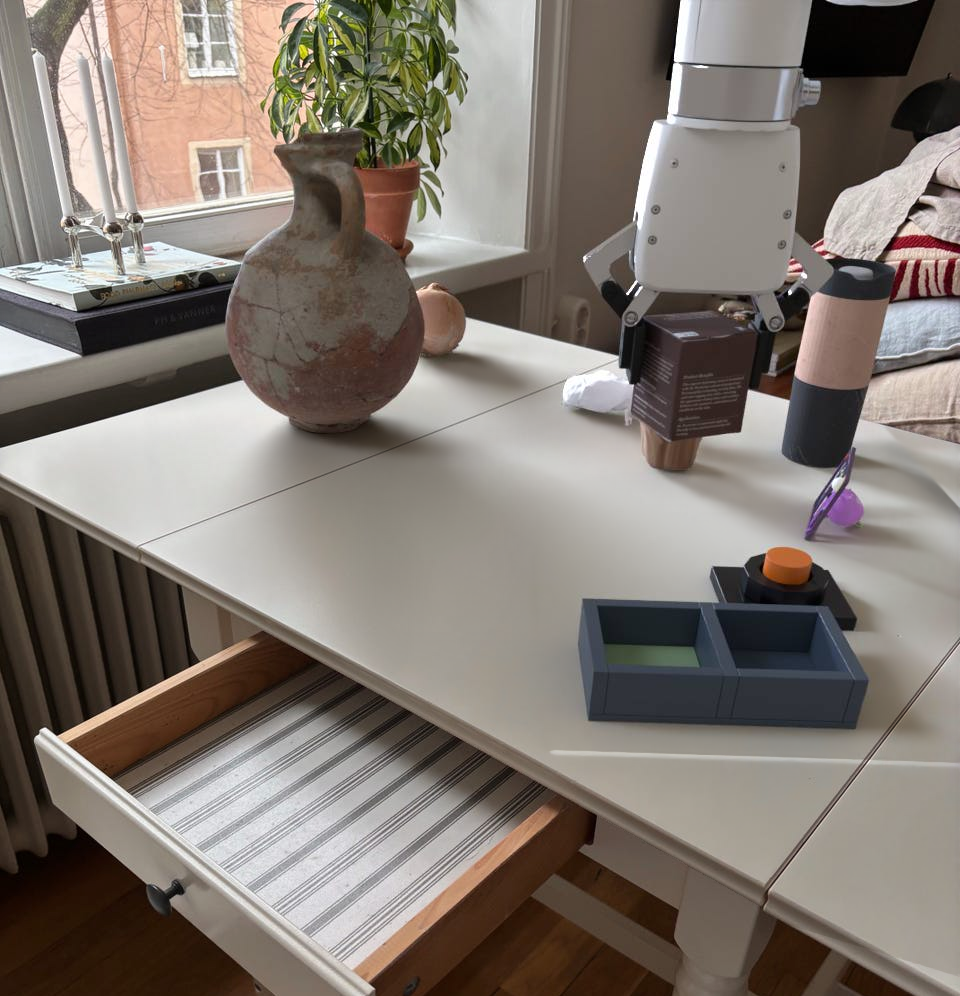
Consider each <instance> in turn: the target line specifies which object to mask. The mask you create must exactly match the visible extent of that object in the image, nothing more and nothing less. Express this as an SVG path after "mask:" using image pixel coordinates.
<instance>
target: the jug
mask: <svg viewBox="0 0 960 996" xmlns="http://www.w3.org/2000/svg"><path fill="white" fill-rule="evenodd" d="M363 136H364V131H363V130H362V129H360V128H358V127H340V128H339V130H338V131H325V132H322V131H321V132H318V131H317V132H307V133H305V132H303V133H302V134H300V135H299V136H298V137H297V138H295V139H294V141H293V142H291V143H283V144H282V143H281V144H276V145H275V146H274V148H273V153H274V155H275V156H276V157H277V159H278V160H279V162H280V163H279V164H280V166H281V167H282V168H283V169H284V170H285V171H286V173H287V175H288V176H289V178H290V180H291V184H292V189H293V203H292V208H291V212H290V216H289V218H288V219H287V220H286V221H285V222H284V223H283V224H282V225H281V226H279V227H277V228H275V229H273V230H272V231H270V232H269V233H268V234H267V235H266V236H264V237H263V238H262V239H261V240H259V241H258V242H257V243H255V244H254V245H253V246H252V247H250V248H249V249H248V250H247V251H246V252H245V254H244V257H243V259H242V263H241V266H240V268H239V271H238V274H237V276H236V278H235V280H234V282H233V285H232V288H231V291H230V294H228V296H229V297H228V300H227V301H228V302H227V307H226V313H225V322H224V324H225V337H226V342H227V348H228V353H229V356H230V358H231V361H232V364H233V366H234V368H235V370H236V372H237V373H238V375H239V376H240V378H241V380H242V382H244V384H245V385H246V386H247V388H248V389H249V390H250V392H251V393H252V395H254V396H255V397H256V398H258V399H259V400H260V401H261V402H262V403H263V404H265V405H266V406H268V407H269V408H270V409H273V410H274V411H276V412H277V413H279V414H281V415H283V416H285V417H287V418H288V421H289V423H290V424H292V425H293V426H295V427H297V428H299V429H302V430H303V431H306V432H310V433H324V434H330V433H331V434H339V433H343V432H347V431H351V430H354V429H357V428H358V427H360V425H361V424H364V423H366V421H367V420H368V419H370V418H371V417H372V414H374V413H376V412H378V411H380V410H381V409H382V408H384V407H386V406H387V405H388V404H389V403H391V402H392V401H393V400H394V399H396V397H398V395H400V393H401V392H402V391H403V390H404V389H405V387H406V386H407V385H408V384H409V382H410V380H411V378H412V377H413V375H414V373H415V371H416V369H417V366H418V364H419V362H420V358H421V355H420V354H421V351H422V346H423V342H424V334H425V324H424V317H423V312H422V308H421V305H420V302H419V299H418V296H417V293H416V288H415V286H414V283H413V281H412V279H411V277H410V274H409V272H408V270H407V269H406V267H405V265H404V263H403V260H402V259H401V257H400V254H399V252H398V250H396V249H395V248H394V247H393V246H392V245H390V244H389V243H388V242H386V241H384V240H383V239H381V238H380V237H378V236H377V235H376V234H374V233H373V232H372V231H370V230H369V229H367V228H366V223H367V213H366V211H367V210H366V199H365V194H364V188H363V185H362V181H361V180H360V178H359V175H358V174H357V172H356V170H355V169H354V164H355V159H356V157H357V155H358V154H359V153H361V152H362V151H363V149H364V143H363V142H364V141H363V138H364V137H363Z"/></svg>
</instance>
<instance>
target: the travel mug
mask: <svg viewBox="0 0 960 996" xmlns="http://www.w3.org/2000/svg"><path fill="white" fill-rule="evenodd" d="M824 259H825V260H826V261H827V262H828V263H829V264H830V265H831V266H832V267H833V270H834V272H833V275H832V276H831V277H830V279H829V280H828V281H827V282H826V283H825V284H824V285H823V286H822V287H821V288H820V289H819V290H818V291H817V292H816V293H815V295H814V294H813V296H812V297H811V298H810V299H809V303H808V309H807V313H806V319H805V322H804V323H805V324H804V327H803V332H802V336H801V343H800V346H799V351H798V355H797V360H796V364H795V370H794V375H793V379H792V386H791V391H790V397H789V402H788V409H787V414H786V420H785V426H784V431H783V437H782V443H781V454H782V455H783V456H784V457H785V458H787V459H788V460H789V461H791V462H795V463H797V464H800V465H804V466H809V467H815V468H835V467H839V465H840V464H841V463H842V461H843V460H844V458H845V457H846V455H847V454H848V452H849V451H850V449H851V448H852V447H853V442H854V439H855V436H856V432H857V428H858V425H859V421H860V418H861V415H862V411H863V408H864V404H865V400H866V397H867V394H868V390H869V386H870V383H871V378H872V374H873V370H874V365H875V361H876V358H877V353H878V349H879V345H880V341H881V336H882V332H883V328H884V324H885V320H886V316H887V313H888V312H887V311H888V307H889V304H890V299H891V294H892V290H893V286H894V282H895V278H896V274H897V270H896V267H894V266H892V265H890V264H887V263H884V262H880V261H877V260H876V261H875V260H870V259H863V258H854V257H853V258H851V257H829V258H824Z"/></svg>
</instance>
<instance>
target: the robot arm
mask: <svg viewBox="0 0 960 996" xmlns="http://www.w3.org/2000/svg"><path fill="white" fill-rule="evenodd" d="M826 1H827V2H829V3H832V4H835V5H840V6H842V5H843V6H867V7H868V6H869V7H891V6H892V7H893V6H902V5H906V4H910V3H913V2H917V1H918V0H826ZM812 2H813V0H680V4H679V12H678V23H677V32H676V39H675V49H674V57H673V58H674V59H673V61H674V62H673V66H672V73H671V81H670V82H671V83H670V90H669V91H670V92H669V101H668V109H667V118H666V119H656V120H654V121H653V125H652V128H651V130H650V133H649V137H648V141H647V145H646V149H645V154H644V157H643V162H642V168H641V172H640V178H639V183H638V189H637V195H636V199H635V208H634V214H633V220H632V222H631V223H629V224H627V225H626V226H624V227H623V228H621V230H619V231H616V233H614V234H612V235H611V236H610V237H609V238H607V239H606V240H605V241H603V242H602V243H600V244H598V245H597V246H595V247H594V248H593V249H591V250H590V251H588V252H587V253H586V254H584V256H583V259H582V260H583V266H584V268H585V271H586V272H587V274H588V275H589V277H590V278H591V280H592V282H593V284H594V286H595V287H596V288H597V290H598V292H599V293H600V294H601V297H602V299H603V300H604V301H605V302H606V303H607V305H609V307H610V308H611V309H612V311H613V312H614V313H615V314H616V315H617V316H618V318H620V320H621V331H620V342H619V350H618V369H621V370H625V374H626V378H627V380H628V381H629V385H637V383H640V380H641V371H642V362H643V354H644V345H645V337H646V328H645V325H644V323H643V316H645V314H646V313H647V312H648V310H649V309H650V307H652V304H654V302H655V300H656V299H657V298H658V297H659V295H660V294H661V292H663V293H679V294H680V293H682V294H703V295H704V294H707V295H708V294H709V295H735V296H736V295H739V296H749V297H750V299H751V301H752V304H753V307H754V309H755V312H756V314H755V316H754V319H751V322H749V323H748V326H747V327H749V328H751V329H753V330H755V331H757V332H758V336H757V340H756V348H755V354H754V359H753V365H752V370H751V376H750V382H749V388H748V389H750V390H759V388H760V385H761V383H760V382H761V378H762V375H767V374H769V371H770V369H771V368H770V367H771V362H772V358H773V352H774V346H775V341H776V336H777V332H779V331H781V330H782V329H783V328H784V326H785V323H786V322H787V321H789V320H790V319H791V318H792V317H794V316H795V315H796V314H798V313H799V311H801V310H802V309H803V308H805V307H806V306H807V305H808V304H809V303H810V300H811V297H812V296H813V294H814V295H815V293H816V292H817V291H818V290H819V289H820V288H821V287H822V286H823V285H824V284H825V283H826V282H827V281H828V280H829V279H830V277H831V276H832V275H833V272H834V270H833V267H832V266H831V265H830V264H829V263H828V262H827V261H826V260H825V259H826V258H824V257H823V256H822V255H821V254H820V253H819V252H818V251H817V250H816V249H815V248H813V246H812V245H810V243H808V242H807V241H806V240H805V239H804V238H803V237H802V236H801V235H800V234H799V233H798V232H797V231H796V230H795V229H796V220H797V219H796V218H797V211H798V210H797V209H798V201H799V199H798V198H799V187H800V185H799V184H800V170H801V166H800V165H801V130H800V129H801V128H800V127H798V126H797V125H794V124H792V123H791V122H792V119H794V118H795V117H796V113H797V111H799V108H804V107H805V106H807V105H808V106H816V105H817V104H818V103H819V100H820V97H821V90H822V85H821V83H822V82H821V80H811V79H810V78H809V77H805V75H804V74H803V72H804V68H800V67H801V65H802V60H803V59H802V58H803V54H804V48H805V44H806V43H805V42H806V37H807V32H808V26H809V20H810V15H811V8H812ZM628 253H629V255H628V261H629V262H628V263H629V269H630V270H631V271H632V272H633V273H634V277H635V281H634V283H633V284H632V286H631V287H630V289H628V291H627V292H626V291H625V290H624V289H623V287H622V286H620V284H619V283H618V281H617V280H616V279H615V277H614V276H613V274H612V272H611V271H610V267H611V265H612V264H613V263H614V262H616V261H617V260H619V259H620V258H621V257H623V256H625V255H626V254H628ZM791 257H792V259H793V260H795V262H797V263H798V264H799V265H800V266H801V268H802V273H801V274H800V276H799V277H798V278H797V280H796V281H795V282H794V284H791V285H789V286H788V287H787V288H785V290H784V291H782V292H781V293H780V294H779V295H778V296H776V295H775V291H777V290H779V289H780V288H781V287H783V285H784V284H785V281H786V278H787V275H788V272H789V268H790V262H791Z"/></svg>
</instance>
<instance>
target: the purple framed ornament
mask: <svg viewBox="0 0 960 996" xmlns="http://www.w3.org/2000/svg"><path fill="white" fill-rule="evenodd" d="M856 451H857V448H856V447H854V446H851V449H850V451H849V452H848V454H847V455H846V457H845V458H844V460H843V461H842V463H841V464H840V465H839V466H837V468H836V470H835V471H834V473H833V474H832V476H831V478H830V479H829V480H828V482H827V483H826V484H825V486H824V487H823V488H822V490H821V492H820V494H819V495H818V497H816V499H815V501H814V503H813V505H812V510H811V513H810V517H809V521H808V524H807V528H806V530H805V535H804V540H805V541H807V542H808V541H810V539H811V538H812V537H813V535H814V534H815V532H816V531H817V529H818V528H819V527H820V525H821V524H822V523H823V521H824V519H825V518H826V516H827V518H828V519H829V520H830V521H831V522H832V523H833V524H835V525H837V526H839V527H850V526H855V527H856V526H857V528H860V527H863V523H862V522H861V519H862V518H863V515H864V512H865V511H864V505H863V503H862V501H861V500H860V498H859V497H858V495H857V494H856V493H855V492H854V491H853V490H852V489H851V488H847V487H848V485H849V483H850V481H851V476H852V470H853V466H854V461H855V456H856V453H857V452H856ZM820 513H821V514H820ZM818 516H819V517H818ZM817 517H818V518H817ZM816 518H817V519H816Z"/></svg>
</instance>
